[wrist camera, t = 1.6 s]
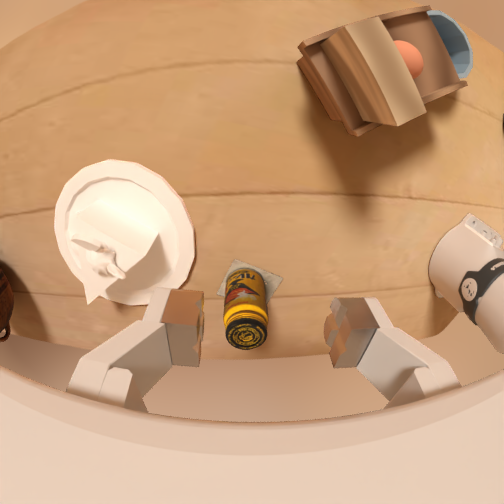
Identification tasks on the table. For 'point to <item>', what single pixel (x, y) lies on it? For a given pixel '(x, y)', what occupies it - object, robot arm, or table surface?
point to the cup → (454, 42)
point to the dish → (124, 232)
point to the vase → (5, 305)
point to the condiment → (247, 304)
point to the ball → (410, 57)
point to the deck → (400, 28)
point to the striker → (374, 73)
